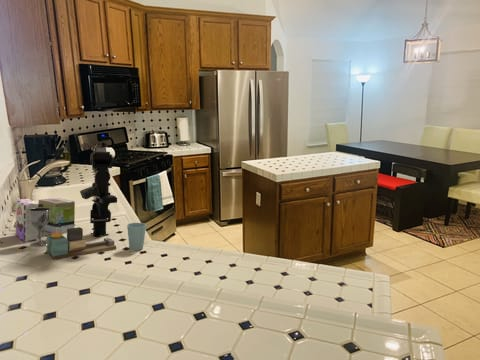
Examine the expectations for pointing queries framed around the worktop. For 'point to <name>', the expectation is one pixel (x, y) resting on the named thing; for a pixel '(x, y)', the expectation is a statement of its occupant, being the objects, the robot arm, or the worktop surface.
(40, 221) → the wine glass
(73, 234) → the carriage
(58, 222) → the tea box
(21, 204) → the candy box
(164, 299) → the worktop surface
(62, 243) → the rail
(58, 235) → the button
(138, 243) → the cup
